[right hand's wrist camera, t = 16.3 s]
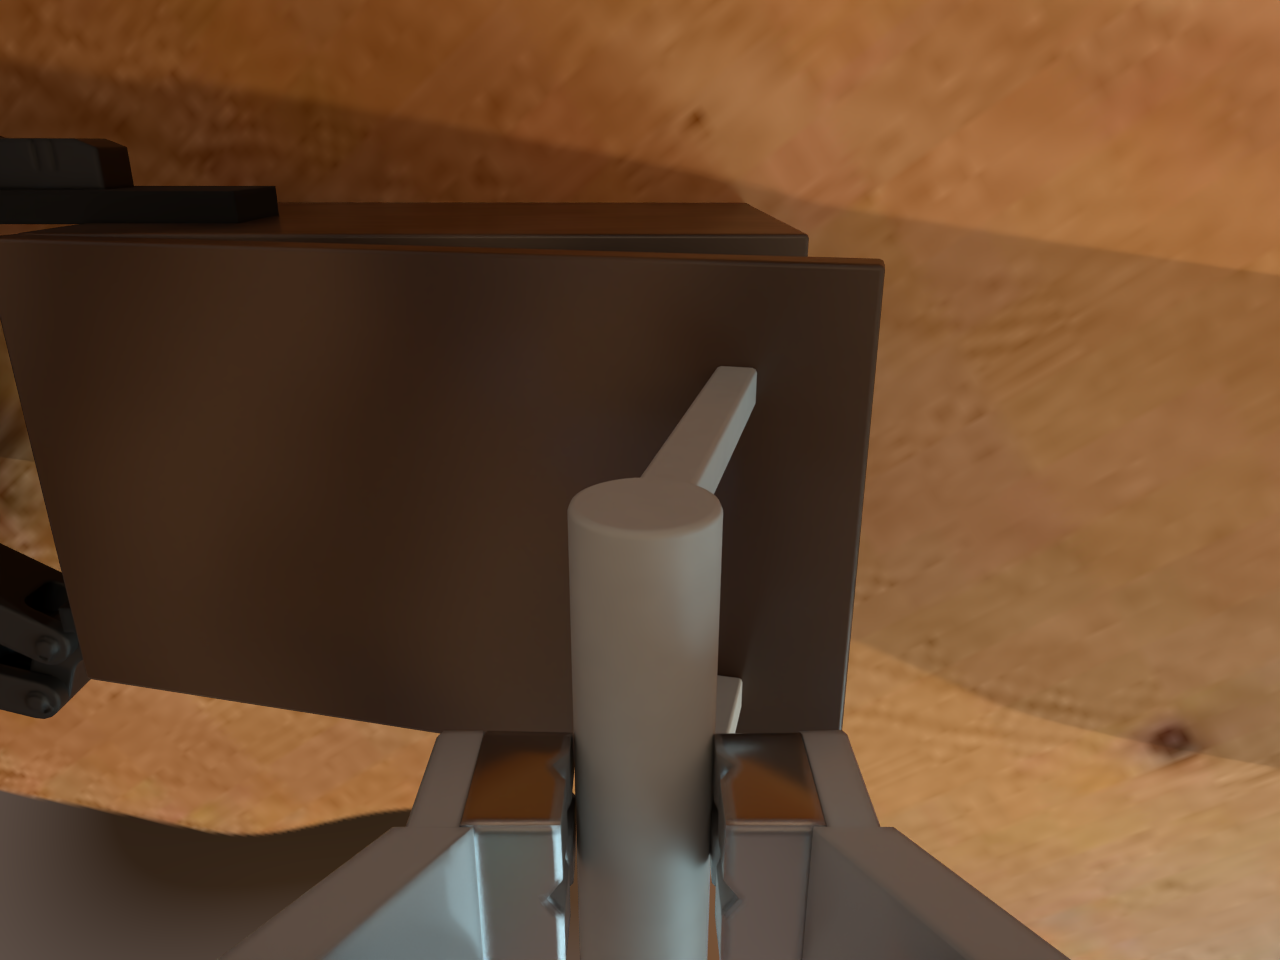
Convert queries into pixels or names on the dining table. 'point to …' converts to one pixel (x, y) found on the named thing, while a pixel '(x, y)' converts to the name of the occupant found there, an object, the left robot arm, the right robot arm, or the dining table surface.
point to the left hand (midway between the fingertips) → (287, 415)
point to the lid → (468, 502)
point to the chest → (497, 227)
